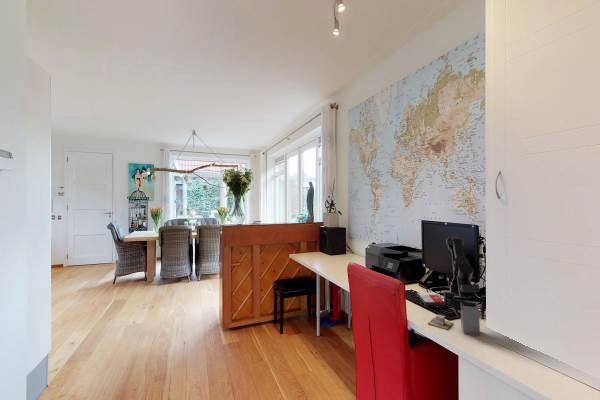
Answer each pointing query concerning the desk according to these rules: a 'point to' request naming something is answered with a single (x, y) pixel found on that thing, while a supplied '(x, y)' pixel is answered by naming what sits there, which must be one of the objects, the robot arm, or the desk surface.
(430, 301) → the calculator
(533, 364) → the desk surface
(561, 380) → the desk surface
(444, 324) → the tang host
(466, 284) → the robot arm
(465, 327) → the socket sleeve
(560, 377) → the desk surface
